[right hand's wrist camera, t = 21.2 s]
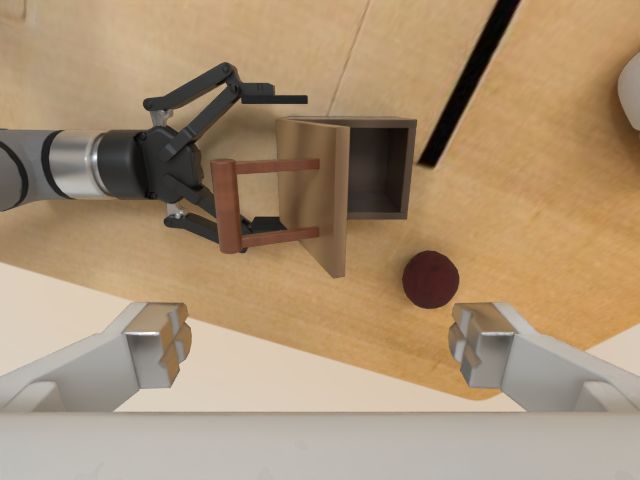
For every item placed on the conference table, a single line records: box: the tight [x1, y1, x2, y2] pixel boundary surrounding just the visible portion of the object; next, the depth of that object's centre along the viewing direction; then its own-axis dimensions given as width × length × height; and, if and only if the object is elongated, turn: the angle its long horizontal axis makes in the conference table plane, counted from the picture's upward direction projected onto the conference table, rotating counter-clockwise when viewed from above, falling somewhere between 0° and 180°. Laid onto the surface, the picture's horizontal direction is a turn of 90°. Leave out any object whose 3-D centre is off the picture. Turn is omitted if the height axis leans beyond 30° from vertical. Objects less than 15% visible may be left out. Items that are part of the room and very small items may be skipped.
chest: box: [283, 116, 417, 220], centre depth 39 cm, size 13×10×10 cm
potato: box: [402, 251, 459, 309], centre depth 45 cm, size 7×8×7 cm
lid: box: [210, 119, 350, 278], centre depth 27 cm, size 14×10×8 cm
